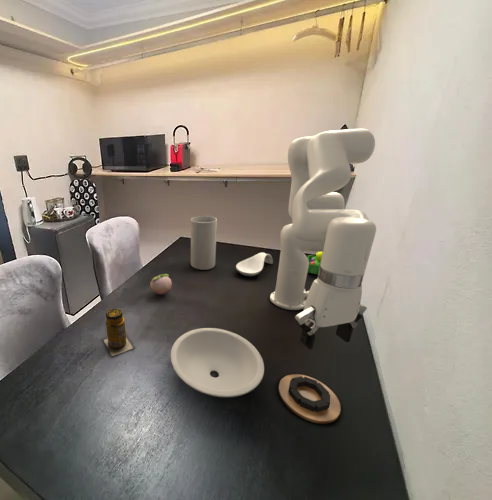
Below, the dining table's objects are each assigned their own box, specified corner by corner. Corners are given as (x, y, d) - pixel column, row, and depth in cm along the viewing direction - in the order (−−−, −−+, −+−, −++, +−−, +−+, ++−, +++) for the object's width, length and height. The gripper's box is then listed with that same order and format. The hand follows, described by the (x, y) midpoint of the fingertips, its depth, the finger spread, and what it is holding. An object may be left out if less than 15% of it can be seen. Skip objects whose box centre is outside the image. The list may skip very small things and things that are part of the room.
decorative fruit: (161, 302, 108) (160, 281, 104) (147, 295, 114) (146, 274, 110) (176, 293, 114) (176, 273, 110) (162, 287, 120) (162, 267, 116)
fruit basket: (306, 264, 132) (310, 243, 128) (327, 267, 127) (332, 246, 123) (303, 273, 124) (307, 250, 120) (326, 277, 119) (331, 254, 115)
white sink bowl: (251, 435, 58) (254, 414, 55) (155, 389, 70) (154, 370, 67) (268, 361, 76) (270, 343, 74) (190, 335, 88) (190, 319, 86)
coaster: (310, 372, 72) (310, 369, 72) (354, 416, 60) (355, 414, 60) (267, 381, 70) (267, 379, 70) (304, 429, 58) (304, 427, 58)
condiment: (123, 333, 92) (120, 304, 87) (133, 348, 84) (130, 317, 80) (103, 340, 89) (99, 310, 84) (112, 357, 82) (107, 325, 77)
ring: (310, 378, 69) (311, 373, 69) (337, 407, 61) (339, 402, 61) (281, 384, 68) (282, 380, 67) (306, 415, 60) (307, 410, 60)
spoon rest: (252, 282, 119) (254, 267, 116) (230, 273, 128) (231, 260, 125) (279, 266, 132) (281, 253, 129) (257, 259, 141) (258, 247, 138)
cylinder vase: (217, 269, 132) (220, 222, 123) (192, 271, 133) (193, 223, 123) (211, 259, 144) (213, 215, 135) (188, 260, 144) (189, 216, 135)
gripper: (358, 264, 60) (342, 326, 66) (290, 274, 58) (280, 337, 64) (392, 278, 53) (371, 346, 59) (318, 290, 51) (303, 360, 57)
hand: (324, 341), depth 61 cm, fingers open, 9 cm apart
